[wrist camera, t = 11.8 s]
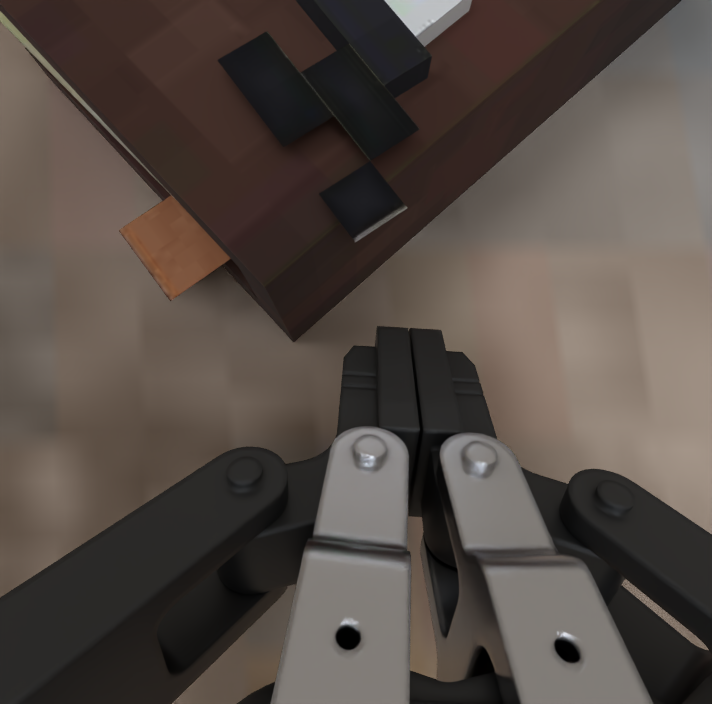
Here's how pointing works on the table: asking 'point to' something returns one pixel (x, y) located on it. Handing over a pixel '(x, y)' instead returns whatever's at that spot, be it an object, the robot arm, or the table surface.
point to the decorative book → (312, 119)
